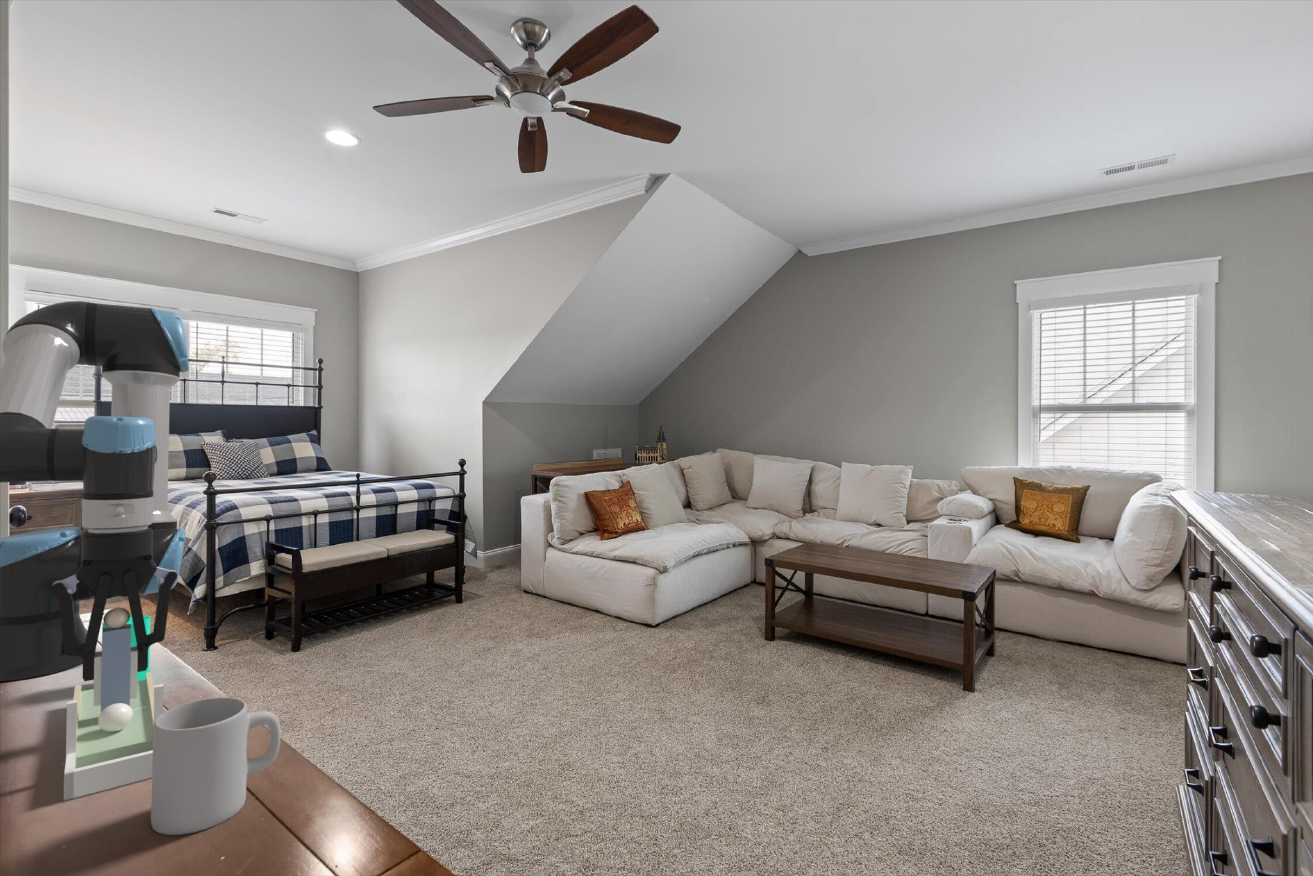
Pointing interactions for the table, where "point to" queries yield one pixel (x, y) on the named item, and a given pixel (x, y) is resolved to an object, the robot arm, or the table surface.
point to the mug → (204, 763)
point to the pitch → (122, 743)
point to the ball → (115, 717)
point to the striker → (116, 658)
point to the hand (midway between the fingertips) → (115, 698)
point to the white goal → (104, 772)
